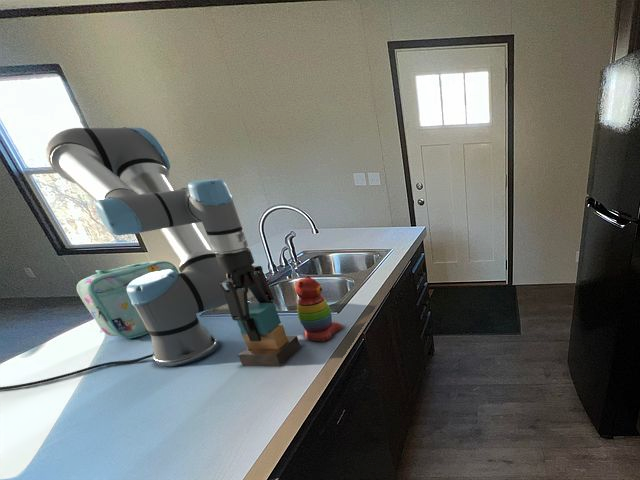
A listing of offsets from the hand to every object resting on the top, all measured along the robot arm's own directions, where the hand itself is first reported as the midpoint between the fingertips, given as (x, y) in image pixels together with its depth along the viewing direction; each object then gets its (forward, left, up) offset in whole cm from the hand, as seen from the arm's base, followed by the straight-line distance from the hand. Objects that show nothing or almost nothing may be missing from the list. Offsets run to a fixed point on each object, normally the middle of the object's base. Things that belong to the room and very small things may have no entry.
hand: (264, 333), depth 104 cm
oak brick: (0, 0, -3) cm, 3 cm away
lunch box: (-54, +19, -7) cm, 58 cm away
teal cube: (0, 0, +2) cm, 2 cm away
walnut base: (0, 0, -7) cm, 7 cm away
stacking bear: (+8, +14, -7) cm, 18 cm away
